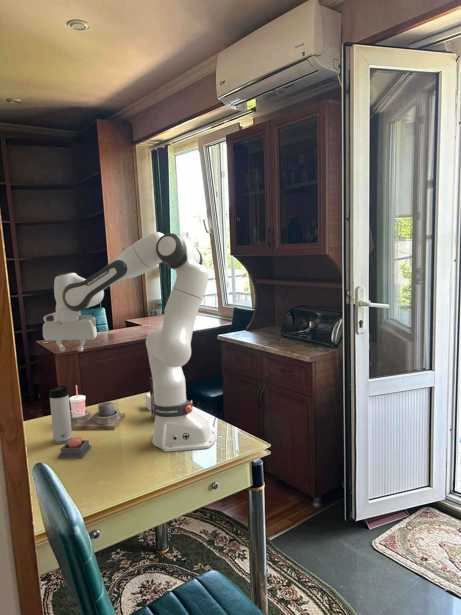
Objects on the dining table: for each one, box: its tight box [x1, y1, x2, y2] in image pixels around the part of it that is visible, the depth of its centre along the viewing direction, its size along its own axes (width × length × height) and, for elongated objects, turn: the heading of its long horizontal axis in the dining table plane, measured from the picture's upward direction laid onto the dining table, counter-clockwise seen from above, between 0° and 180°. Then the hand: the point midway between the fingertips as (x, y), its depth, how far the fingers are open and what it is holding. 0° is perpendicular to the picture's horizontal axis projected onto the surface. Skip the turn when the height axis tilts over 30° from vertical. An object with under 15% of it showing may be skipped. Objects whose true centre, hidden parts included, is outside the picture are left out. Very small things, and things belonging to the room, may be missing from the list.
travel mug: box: [49, 385, 73, 445], centre depth 166 cm, size 6×7×20 cm
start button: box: [68, 436, 83, 448], centre depth 156 cm, size 4×4×2 cm
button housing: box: [58, 439, 92, 459], centre depth 157 cm, size 8×8×3 cm
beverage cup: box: [69, 384, 86, 417], centre depth 182 cm, size 6×6×14 cm
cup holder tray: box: [70, 401, 126, 431], centre depth 182 cm, size 22×13×8 cm, turn 86°
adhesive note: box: [145, 392, 151, 412], centre depth 198 cm, size 6×6×6 cm
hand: (71, 351), depth 179 cm, fingers open, 6 cm apart
